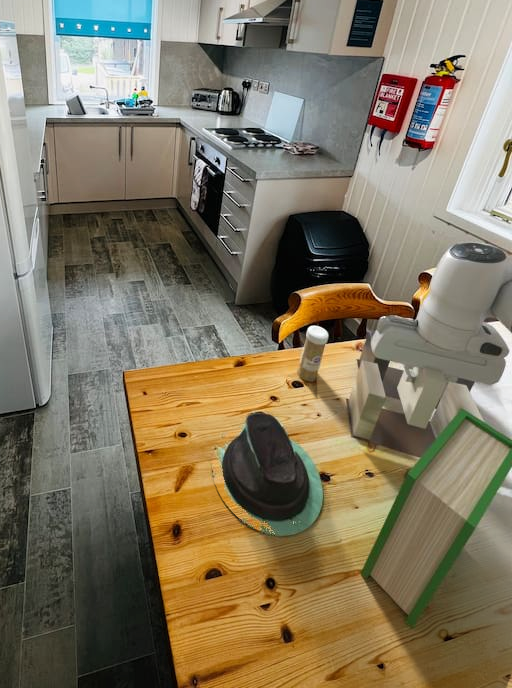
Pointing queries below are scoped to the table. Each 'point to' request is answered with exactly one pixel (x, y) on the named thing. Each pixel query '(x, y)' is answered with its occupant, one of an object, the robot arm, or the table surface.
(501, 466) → the hardback book
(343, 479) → the table surface
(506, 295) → the robot arm
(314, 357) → the sprinkles bottle
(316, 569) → the table surface
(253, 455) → the black and teal hat
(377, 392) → the light brown wooden rack
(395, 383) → the grey rack
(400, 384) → the upright white block
